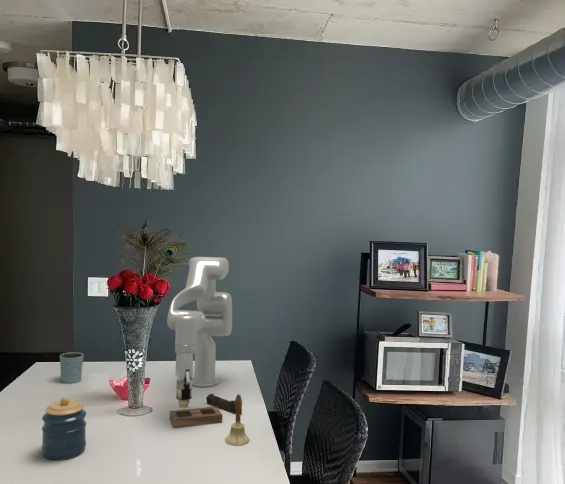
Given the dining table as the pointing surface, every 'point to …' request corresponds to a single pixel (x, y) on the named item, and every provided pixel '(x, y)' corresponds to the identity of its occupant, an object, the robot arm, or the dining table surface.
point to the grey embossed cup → (71, 367)
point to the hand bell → (237, 427)
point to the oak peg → (178, 394)
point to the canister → (63, 430)
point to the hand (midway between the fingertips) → (184, 396)
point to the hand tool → (222, 403)
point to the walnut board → (195, 417)
